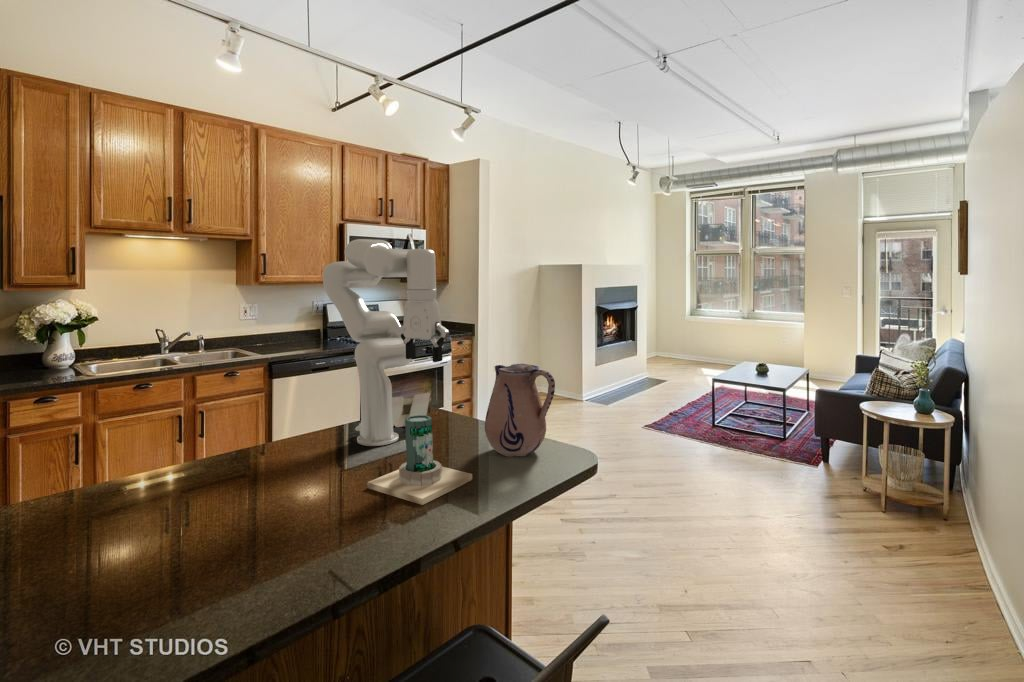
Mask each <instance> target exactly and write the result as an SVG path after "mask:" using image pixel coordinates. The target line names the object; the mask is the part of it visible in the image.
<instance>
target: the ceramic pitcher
mask: <svg viewBox="0 0 1024 682" xmlns="http://www.w3.org/2000/svg"><path fill="white" fill-rule="evenodd" d="M494 371H495V379H494V386H493V388H492V391H491V395H490V399H489V402H488V406H487V409H486V410H487V411H486V415H485V421H484V432H485V436H486V439H487V441H488V443H489V445H490V446H491V447H492V448H493V450H494V451H496V452H497V453H499V454H500V455H502V456H505V457H526V456H527V455H531V454H532V453H535V451H536V450H538V448H539V447H540V446H541V445H542V444H543V441H544V439H545V437H546V434H547V432H546V431H547V421H546V420H547V419H546V416H547V413H548V410H549V409H550V406H551V405H552V401H553V399H554V396H555V391H556V387H555V386H556V382H555V379H554V377H553V376H552V374H551V373H550V372H549V371H547V370H544V369H543V370H542V369H540V367H539V366H538V365H534V364H527V363H516V364H515V363H513V364H511V365H509V366H506V365H502V364H497V365H495V366H494ZM540 376H543V377H544V378H545V379H546V380H547V383H548V388H547V394H546V398H545V399H544V402H542V400H541V396H540V394H539V391H538V389H537V388H538V387H537V384H536V379H537V378H538V377H540Z"/></svg>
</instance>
